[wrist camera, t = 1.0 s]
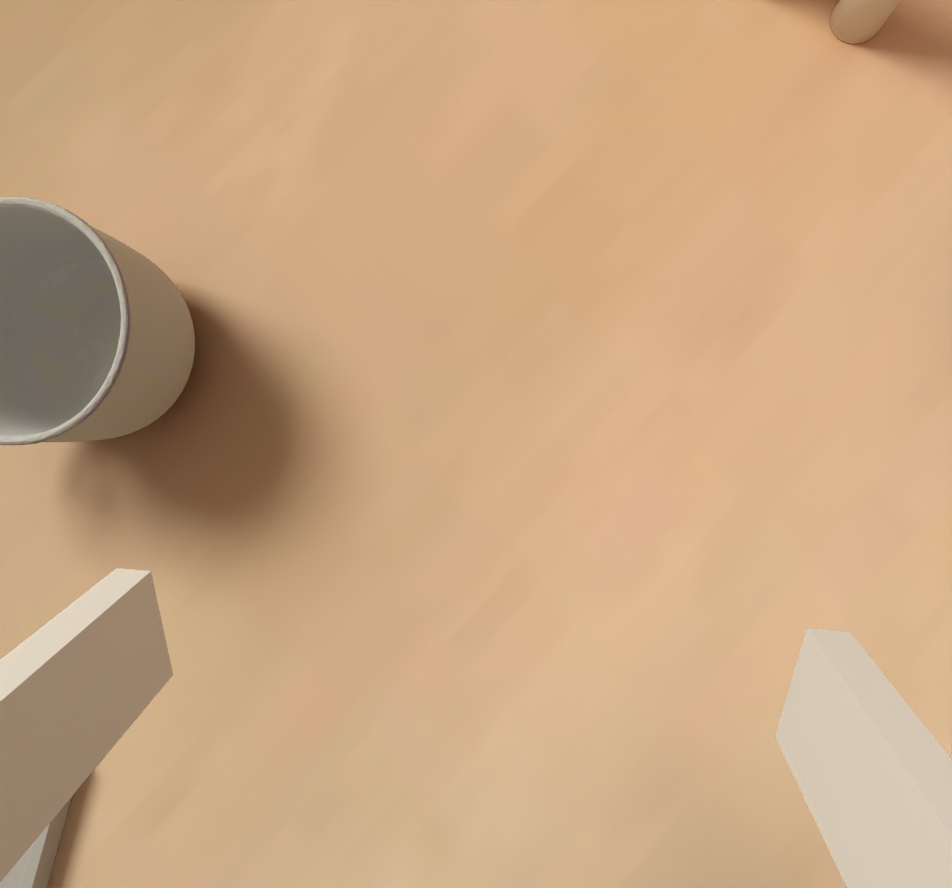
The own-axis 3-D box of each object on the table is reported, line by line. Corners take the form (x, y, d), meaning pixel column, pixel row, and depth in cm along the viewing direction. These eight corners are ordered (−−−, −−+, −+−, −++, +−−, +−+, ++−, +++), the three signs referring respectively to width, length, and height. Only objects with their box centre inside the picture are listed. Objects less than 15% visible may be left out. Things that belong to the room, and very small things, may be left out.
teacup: (180, 228, 31) (57, 148, 24) (256, 396, 31) (155, 373, 23) (-18, 340, 33) (-196, 301, 25) (50, 505, 32) (-113, 519, 24)
